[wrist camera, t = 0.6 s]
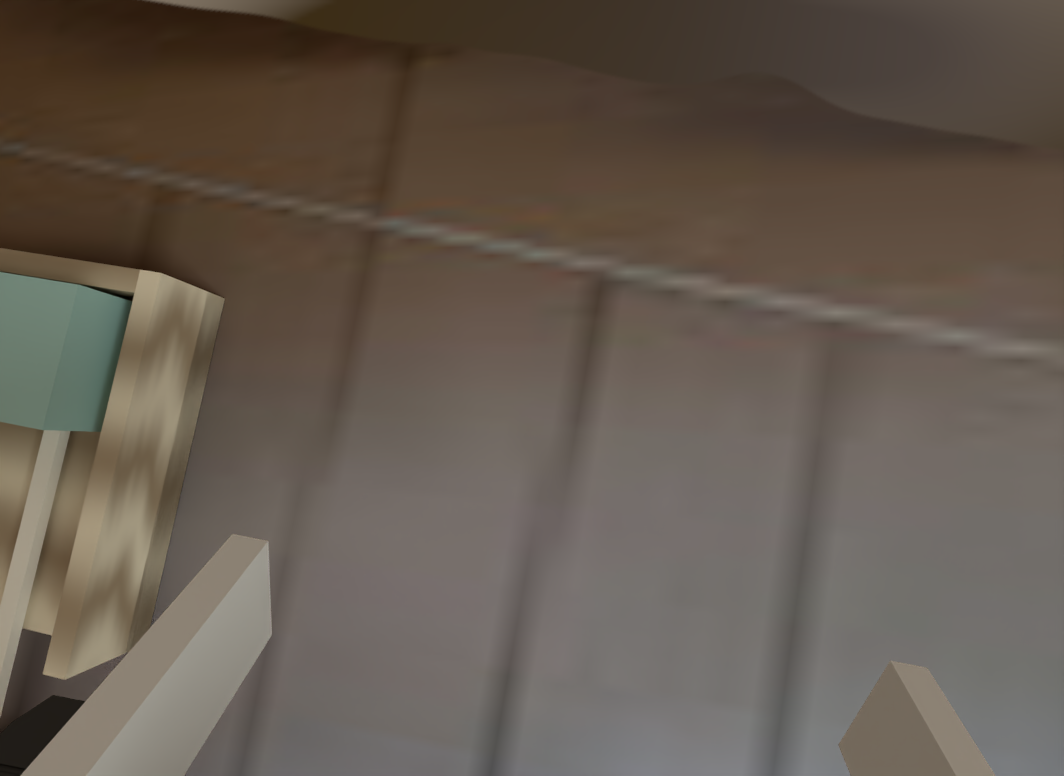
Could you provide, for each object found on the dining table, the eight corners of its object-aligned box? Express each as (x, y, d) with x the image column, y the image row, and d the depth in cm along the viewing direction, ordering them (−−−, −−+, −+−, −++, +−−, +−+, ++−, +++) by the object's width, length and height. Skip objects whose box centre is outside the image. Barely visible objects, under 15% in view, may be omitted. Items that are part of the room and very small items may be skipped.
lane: (146, 643, 32) (64, 679, 27) (-52, 595, 34) (-164, 621, 29) (224, 298, 34) (161, 272, 29) (32, 268, 35) (-59, 238, 30)
